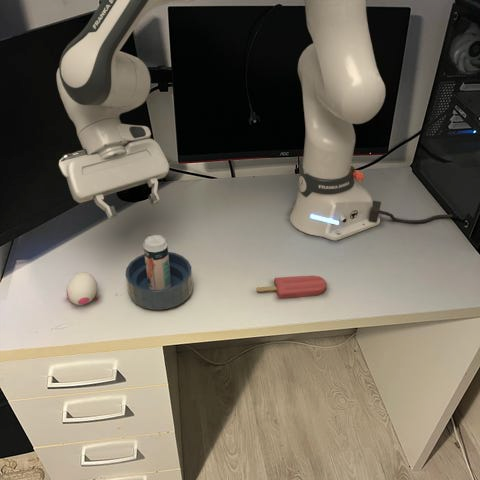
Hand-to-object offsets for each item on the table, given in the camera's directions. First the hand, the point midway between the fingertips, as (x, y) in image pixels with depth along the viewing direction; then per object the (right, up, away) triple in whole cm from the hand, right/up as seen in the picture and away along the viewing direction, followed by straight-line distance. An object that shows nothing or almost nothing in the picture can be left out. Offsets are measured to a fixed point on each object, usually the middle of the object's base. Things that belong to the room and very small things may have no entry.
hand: (134, 209), depth 102 cm
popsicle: (+32, -16, +7) cm, 36 cm away
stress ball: (-12, -18, +4) cm, 22 cm away
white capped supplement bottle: (+4, -15, +6) cm, 17 cm away
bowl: (+4, -16, +6) cm, 18 cm away
